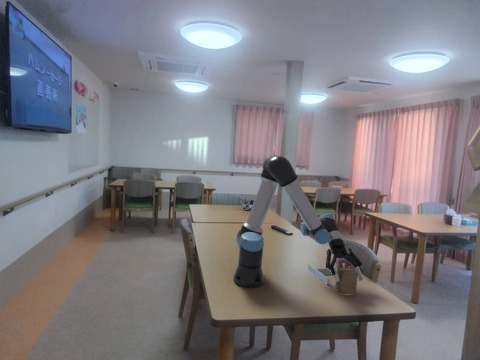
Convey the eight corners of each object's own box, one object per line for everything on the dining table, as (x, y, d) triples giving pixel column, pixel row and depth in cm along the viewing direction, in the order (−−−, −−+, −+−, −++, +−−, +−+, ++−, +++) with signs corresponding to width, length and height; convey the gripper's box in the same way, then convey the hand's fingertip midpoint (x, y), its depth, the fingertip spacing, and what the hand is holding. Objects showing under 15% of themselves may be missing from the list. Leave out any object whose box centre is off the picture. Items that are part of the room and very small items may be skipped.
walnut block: (335, 288, 153) (337, 267, 152) (348, 288, 154) (350, 267, 153) (341, 295, 146) (344, 273, 145) (355, 295, 147) (358, 273, 146)
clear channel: (307, 269, 175) (308, 264, 175) (327, 268, 179) (327, 263, 178) (327, 284, 156) (327, 279, 156) (348, 283, 160) (349, 278, 159)
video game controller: (351, 270, 182) (350, 258, 184) (354, 270, 178) (353, 258, 180) (334, 269, 181) (334, 257, 184) (337, 269, 177) (337, 257, 180)
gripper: (351, 243, 169) (366, 282, 156) (311, 244, 161) (324, 285, 149) (358, 237, 163) (375, 276, 150) (317, 238, 156) (331, 279, 143)
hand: (349, 280), depth 150 cm, fingers open, 13 cm apart
